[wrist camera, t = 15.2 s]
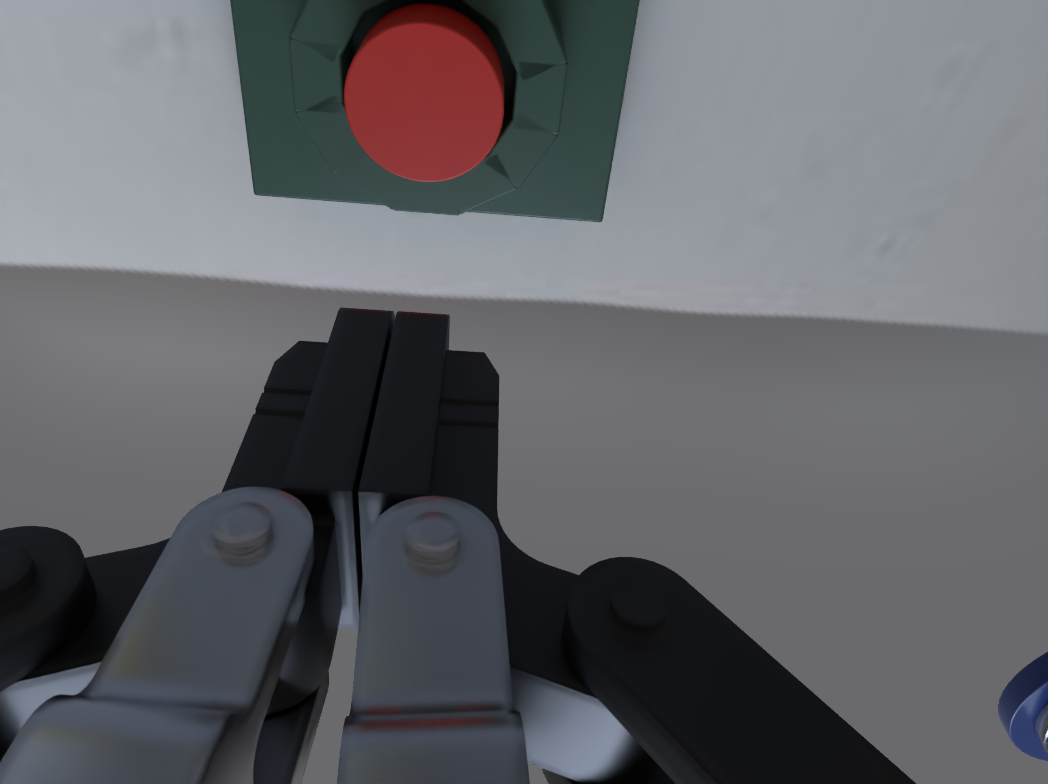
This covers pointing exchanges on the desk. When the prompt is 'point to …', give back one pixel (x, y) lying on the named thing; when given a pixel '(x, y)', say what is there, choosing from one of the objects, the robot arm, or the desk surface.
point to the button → (425, 93)
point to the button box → (529, 105)
